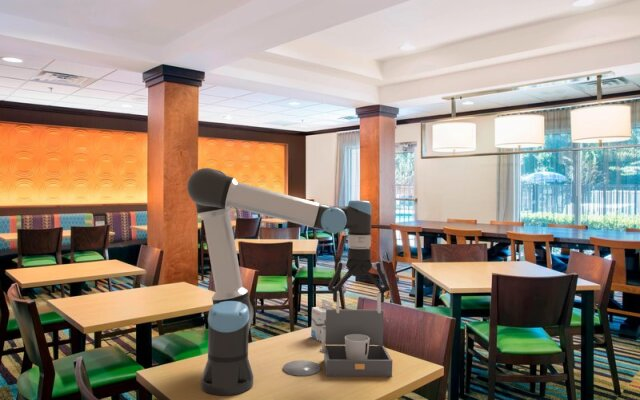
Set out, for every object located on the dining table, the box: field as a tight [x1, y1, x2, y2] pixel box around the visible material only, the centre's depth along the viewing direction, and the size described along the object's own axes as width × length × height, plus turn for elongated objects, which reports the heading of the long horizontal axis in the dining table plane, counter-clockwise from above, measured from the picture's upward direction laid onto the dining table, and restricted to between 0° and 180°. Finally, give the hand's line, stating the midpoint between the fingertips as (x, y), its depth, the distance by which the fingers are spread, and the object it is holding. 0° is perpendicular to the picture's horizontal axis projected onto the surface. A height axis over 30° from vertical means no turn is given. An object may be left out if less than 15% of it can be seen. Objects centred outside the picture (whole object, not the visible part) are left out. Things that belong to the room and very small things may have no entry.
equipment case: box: [321, 308, 393, 378], centre depth 154 cm, size 22×16×17 cm
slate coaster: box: [282, 359, 321, 377], centre depth 152 cm, size 12×12×1 cm
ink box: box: [310, 298, 334, 343], centre depth 185 cm, size 9×5×15 cm, turn 30°
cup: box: [345, 334, 370, 360], centre depth 154 cm, size 8×8×10 cm
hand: (358, 312), depth 154 cm, fingers open, 13 cm apart
